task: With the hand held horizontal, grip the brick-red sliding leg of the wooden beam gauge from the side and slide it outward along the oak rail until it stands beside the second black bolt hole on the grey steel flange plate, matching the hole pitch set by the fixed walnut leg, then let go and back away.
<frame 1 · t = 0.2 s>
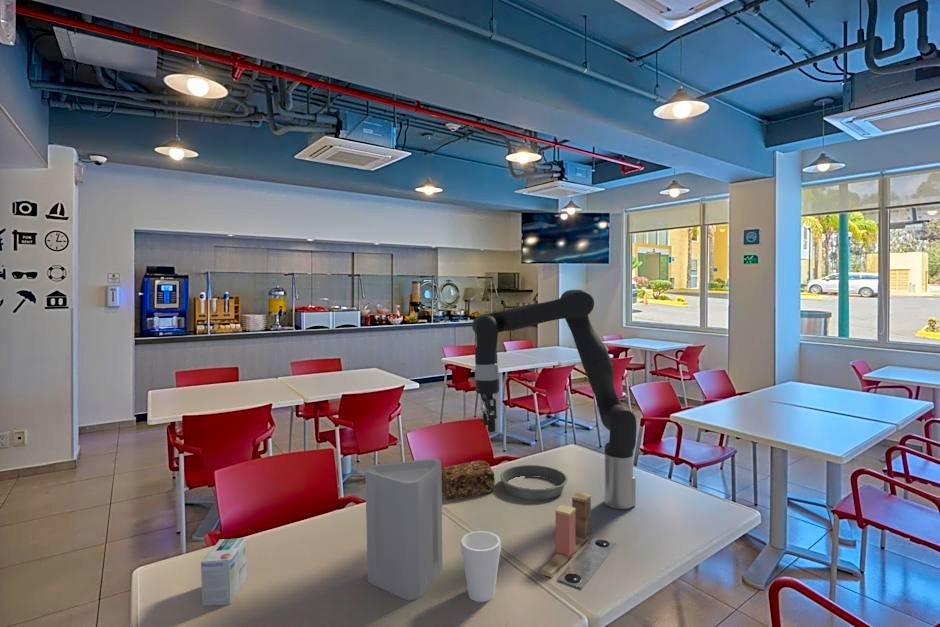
hand: (489, 428, 156), 29 cm above the table, tool pointing down, fingers open, 8 cm apart
cake pan: (533, 488, 181), on the table
flange plate: (589, 561, 131), on the table
foam cup: (481, 594, 117), on the table
sliding leg: (565, 529, 133), point 7 cm above the table, slide at 0.0 cm
bread: (466, 492, 177), on the table
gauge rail: (567, 554, 134), on the table
light bulb box: (225, 592, 119), on the table
triangular storage bin: (408, 582, 122), on the table
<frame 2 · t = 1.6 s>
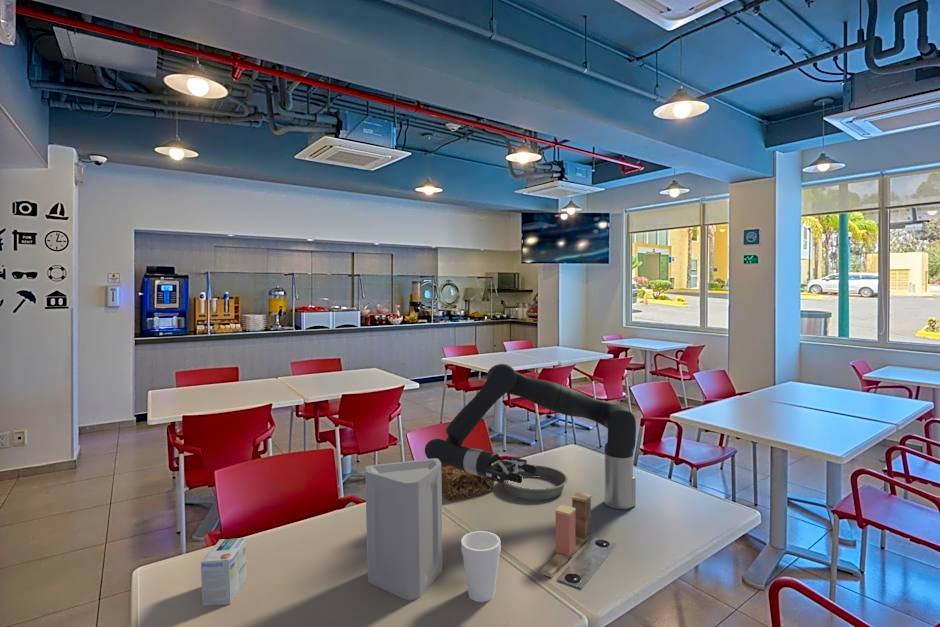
hand: (529, 474, 139), 20 cm above the table, tool horizontal, fingers open, 8 cm apart
nothing on the table moved.
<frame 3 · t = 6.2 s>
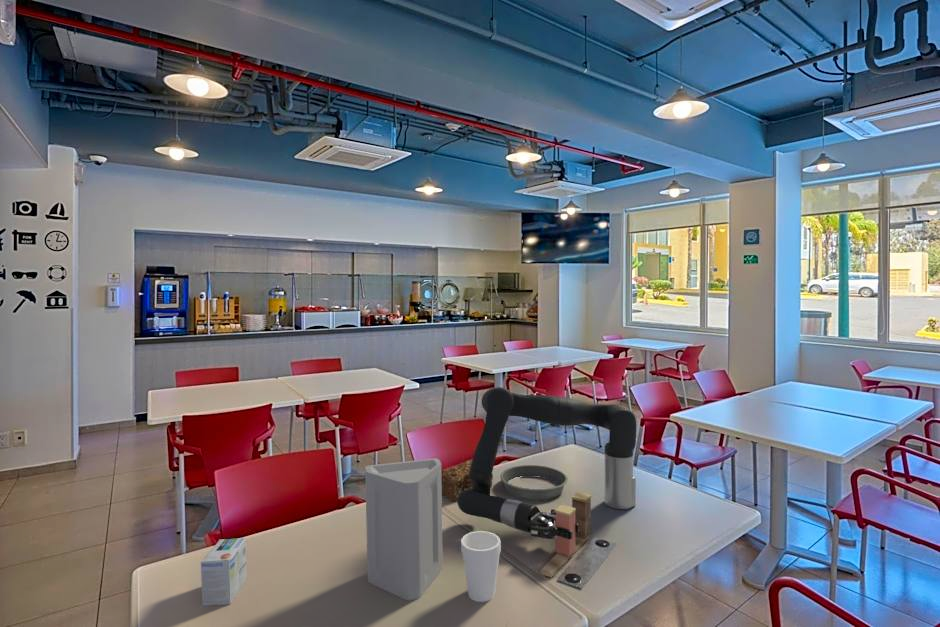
hand: (575, 531, 132), 7 cm above the table, tool horizontal, fingers closed on sliding leg, 4 cm apart
sliding leg: (565, 530, 133), point 7 cm above the table, slide at 0.0 cm, touching gripper
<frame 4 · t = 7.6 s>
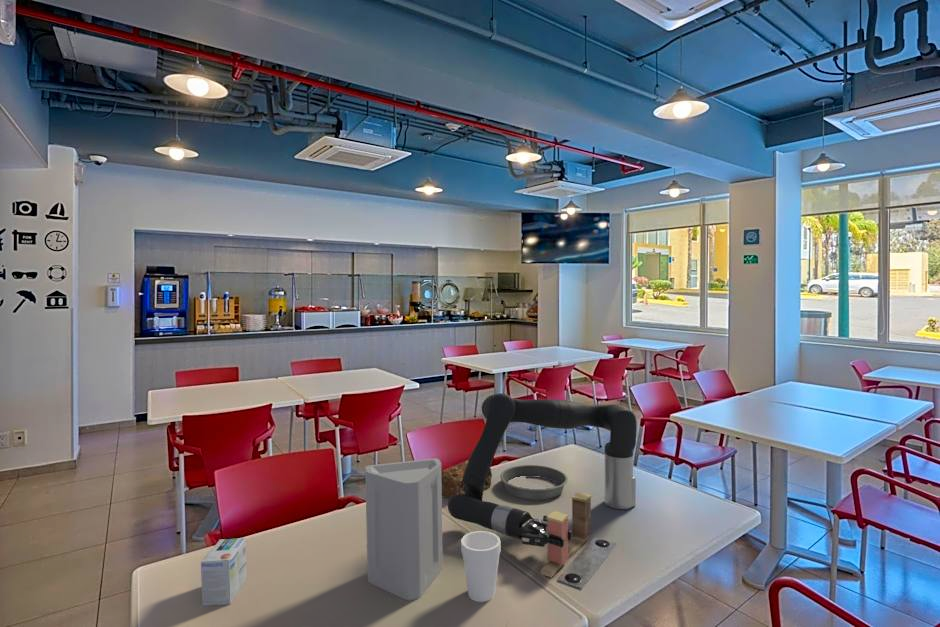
hand: (567, 539, 128), 8 cm above the table, tool horizontal, fingers closed on sliding leg, 4 cm apart
sliding leg: (557, 537, 129), point 7 cm above the table, slide at 4.9 cm, touching gripper
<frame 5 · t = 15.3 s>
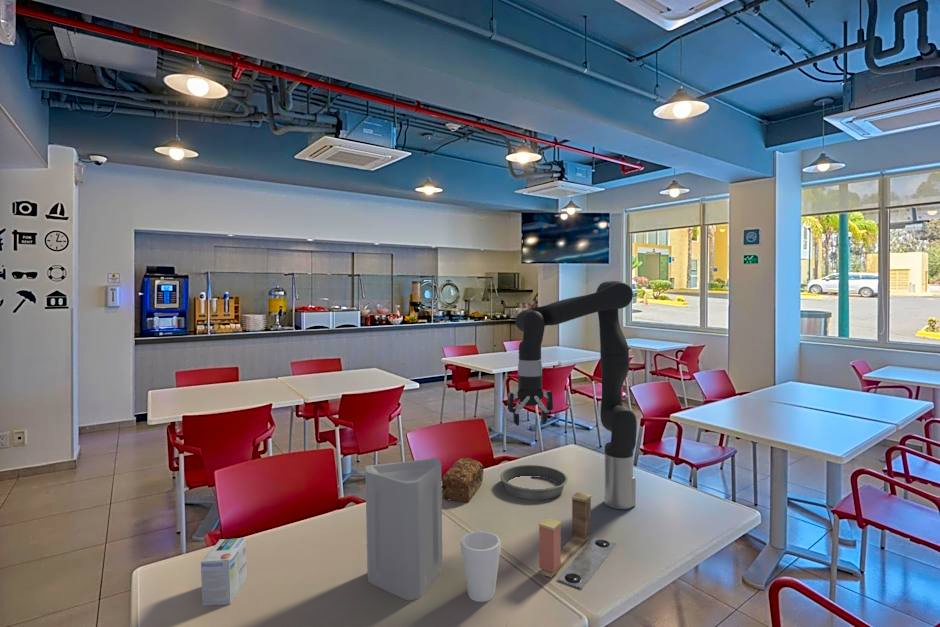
hand: (530, 424, 155), 30 cm above the table, tool pointing down, fingers open, 8 cm apart
sliding leg: (550, 544, 126), point 7 cm above the table, slide at 9.5 cm
at the end: sliding leg slide at 9.5 cm; the gripper is holding nothing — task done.
